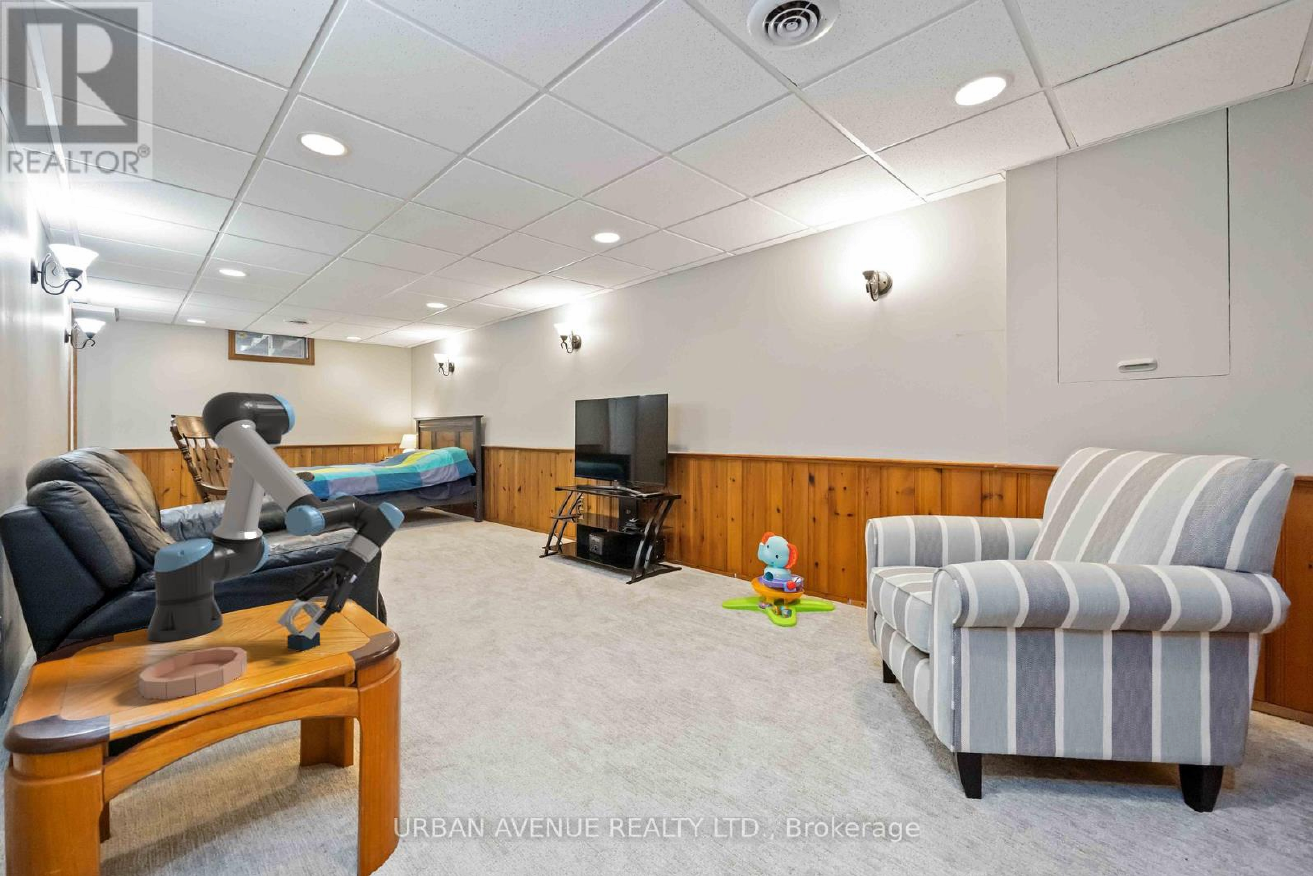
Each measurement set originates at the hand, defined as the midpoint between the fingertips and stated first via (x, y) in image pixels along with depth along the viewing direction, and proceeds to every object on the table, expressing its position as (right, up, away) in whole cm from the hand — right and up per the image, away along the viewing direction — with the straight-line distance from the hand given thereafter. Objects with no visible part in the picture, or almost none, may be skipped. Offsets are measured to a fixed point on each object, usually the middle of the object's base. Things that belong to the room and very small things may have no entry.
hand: (293, 630), depth 132 cm
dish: (-11, -5, -15) cm, 19 cm away
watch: (+1, -5, +2) cm, 5 cm away
